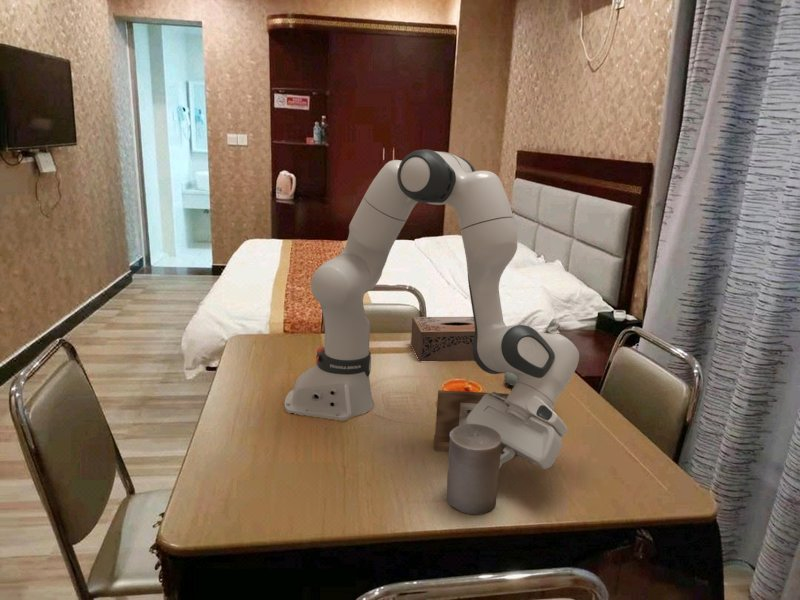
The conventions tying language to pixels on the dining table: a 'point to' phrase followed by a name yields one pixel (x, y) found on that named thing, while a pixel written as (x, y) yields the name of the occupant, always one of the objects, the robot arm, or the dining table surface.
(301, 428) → the dining table surface
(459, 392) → the label placard
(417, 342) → the tissue box cover
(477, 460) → the pillar candle
